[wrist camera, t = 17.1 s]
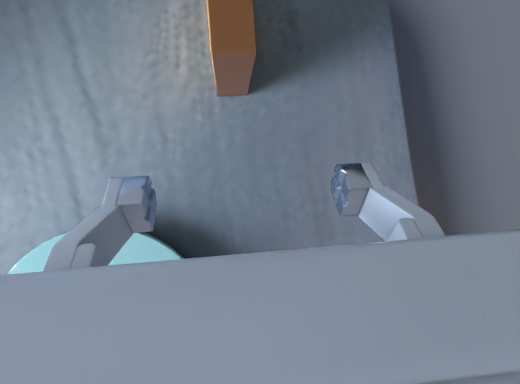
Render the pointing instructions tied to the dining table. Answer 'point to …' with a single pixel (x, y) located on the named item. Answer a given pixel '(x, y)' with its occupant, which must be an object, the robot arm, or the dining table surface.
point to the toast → (232, 44)
